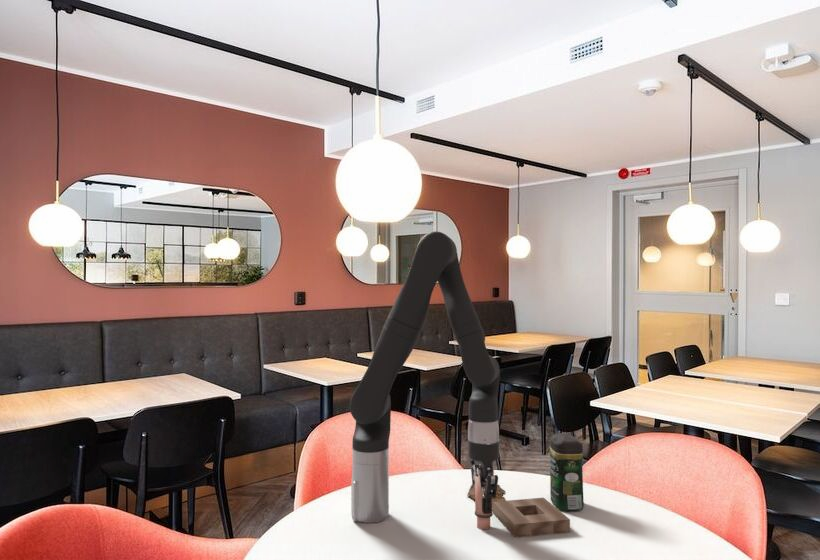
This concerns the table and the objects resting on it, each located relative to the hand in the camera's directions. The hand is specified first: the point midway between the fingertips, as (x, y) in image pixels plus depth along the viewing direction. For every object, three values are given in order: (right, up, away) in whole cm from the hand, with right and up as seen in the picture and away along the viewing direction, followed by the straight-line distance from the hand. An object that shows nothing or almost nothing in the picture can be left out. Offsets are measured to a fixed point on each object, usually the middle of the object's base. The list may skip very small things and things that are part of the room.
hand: (483, 509), depth 132 cm
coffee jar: (+24, -5, +13) cm, 28 cm away
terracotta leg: (0, -4, 0) cm, 4 cm away
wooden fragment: (+3, -5, +22) cm, 23 cm away
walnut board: (+12, -4, +2) cm, 13 cm away
